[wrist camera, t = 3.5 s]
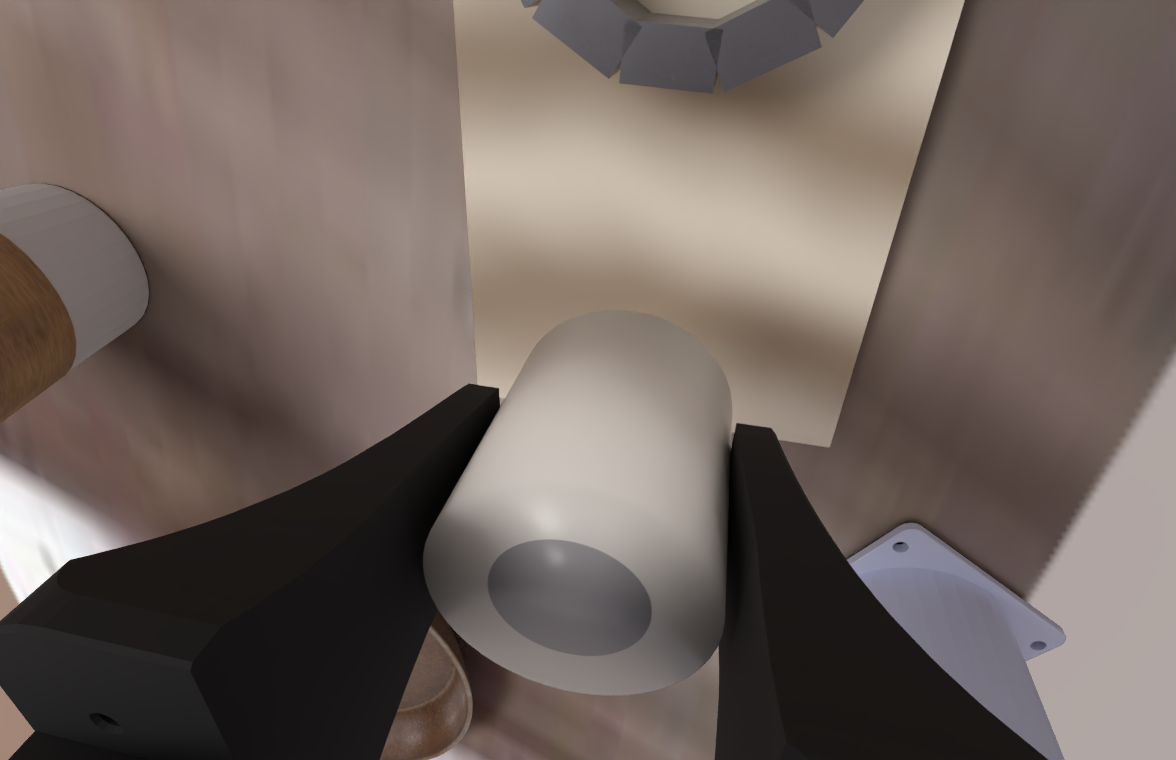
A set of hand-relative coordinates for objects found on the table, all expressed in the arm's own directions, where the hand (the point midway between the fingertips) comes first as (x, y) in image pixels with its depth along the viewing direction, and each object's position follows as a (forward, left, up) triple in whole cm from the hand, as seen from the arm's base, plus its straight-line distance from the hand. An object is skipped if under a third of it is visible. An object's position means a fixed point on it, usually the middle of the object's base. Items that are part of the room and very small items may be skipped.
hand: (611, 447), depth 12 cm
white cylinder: (0, 0, -1) cm, 1 cm away
